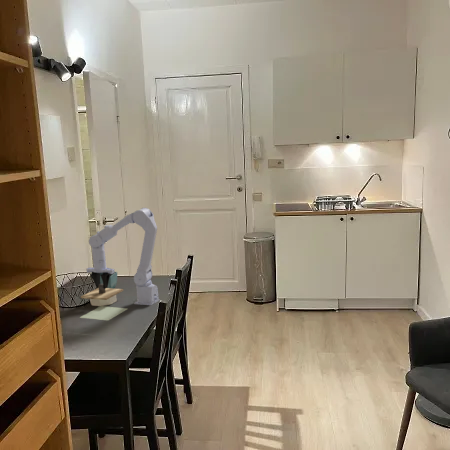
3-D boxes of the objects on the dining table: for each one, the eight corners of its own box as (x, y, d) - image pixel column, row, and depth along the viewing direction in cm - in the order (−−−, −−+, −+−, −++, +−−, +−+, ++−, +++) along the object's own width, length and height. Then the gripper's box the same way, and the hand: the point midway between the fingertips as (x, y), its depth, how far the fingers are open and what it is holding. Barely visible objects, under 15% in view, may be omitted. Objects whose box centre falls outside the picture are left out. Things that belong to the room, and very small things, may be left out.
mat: (128, 309, 215) (128, 308, 215) (108, 321, 201) (108, 320, 201) (100, 306, 220) (100, 306, 220) (79, 318, 207) (79, 317, 207)
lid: (123, 290, 229) (122, 281, 229) (106, 299, 217) (105, 289, 216) (99, 289, 235) (98, 279, 234) (80, 298, 222) (79, 288, 221)
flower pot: (112, 293, 241) (110, 276, 239) (96, 293, 242) (94, 276, 241) (119, 288, 249) (117, 271, 248) (103, 288, 251) (102, 271, 249)
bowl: (121, 299, 230) (120, 291, 229) (106, 307, 219) (105, 298, 218) (101, 297, 234) (100, 289, 234) (85, 305, 224) (84, 297, 223)
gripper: (81, 261, 222) (84, 289, 224) (106, 262, 217) (109, 291, 219) (90, 257, 229) (93, 284, 231) (116, 258, 223) (118, 286, 225)
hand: (102, 287), depth 225 cm, fingers open, 4 cm apart
